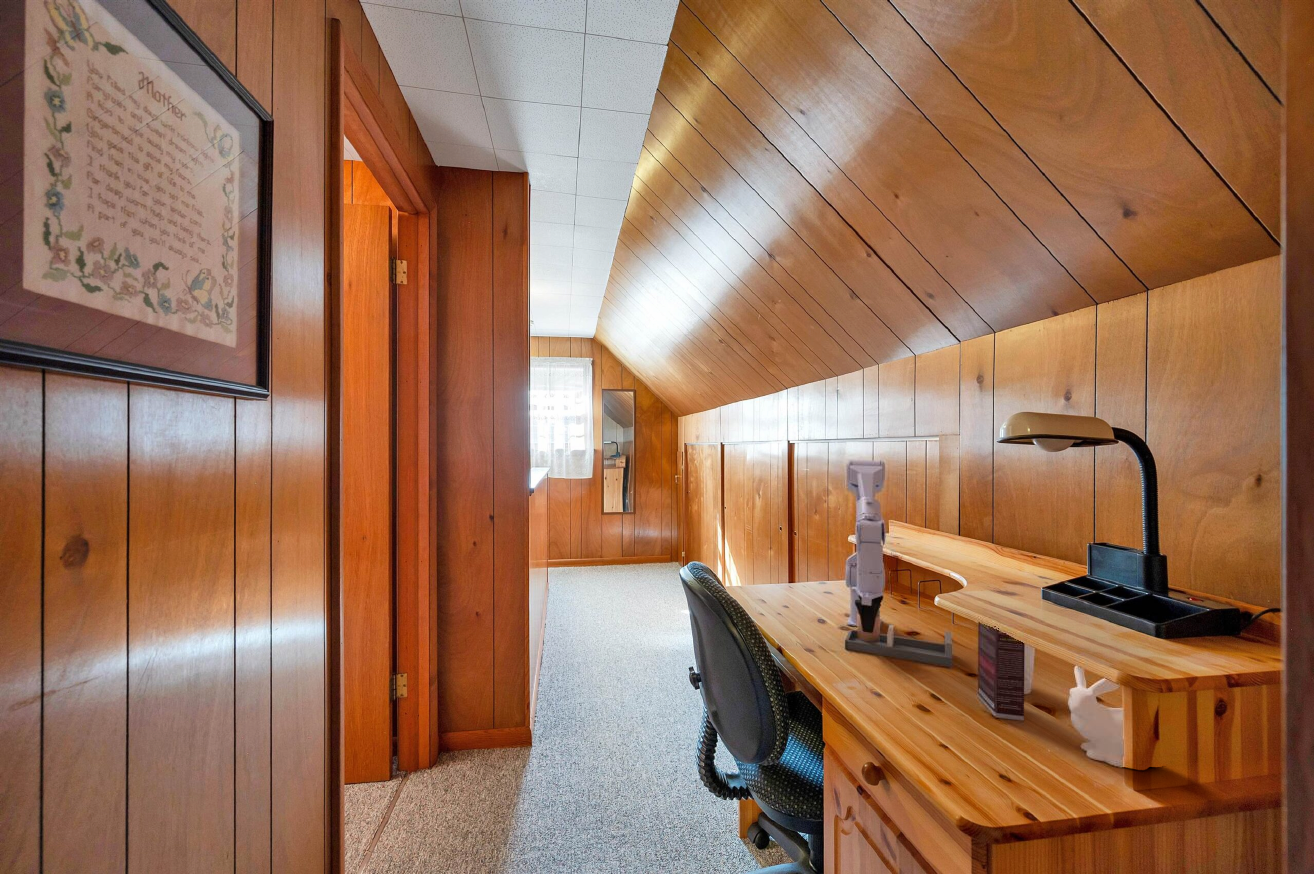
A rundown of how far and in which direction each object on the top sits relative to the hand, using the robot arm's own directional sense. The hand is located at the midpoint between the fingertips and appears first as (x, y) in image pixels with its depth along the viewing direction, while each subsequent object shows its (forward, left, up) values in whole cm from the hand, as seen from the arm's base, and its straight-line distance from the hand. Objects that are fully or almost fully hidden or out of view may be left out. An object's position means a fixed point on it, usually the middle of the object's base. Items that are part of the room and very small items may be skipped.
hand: (869, 628), depth 129 cm
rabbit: (+32, +37, -4) cm, 49 cm away
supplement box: (+22, +24, -4) cm, 33 cm away
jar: (0, 0, -2) cm, 3 cm away
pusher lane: (0, +6, -4) cm, 7 cm away
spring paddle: (0, +5, -3) cm, 6 cm away
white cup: (+10, +27, -4) cm, 29 cm away
